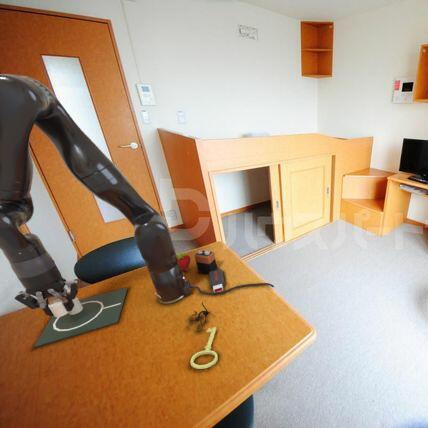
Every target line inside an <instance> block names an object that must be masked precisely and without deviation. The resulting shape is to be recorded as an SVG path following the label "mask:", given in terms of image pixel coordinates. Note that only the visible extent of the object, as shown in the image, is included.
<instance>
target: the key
mask: <svg viewBox="0 0 428 428" xmlns="http://www.w3.org/2000/svg"><path fill="white" fill-rule="evenodd" d="M216 331H217V327H216V326H214V327H212V328H207V330H206V333H209V334H210V335H209V336H208V340H207V343H206V345H205V346H204V350H200V351H198V352H195V353H194V354H193V355H192V357H191V358H190V361H189V362H190V366H191V368H193V369H196V370H203V369H208V368H210V367H211V368H212V367H213V366H214V365H216V363H218V361H219V359H218V358H219V356H218V353H217V352H216V351H214V350H212V344H213V341H214V337H215V334H216ZM205 355H211V356H214V358H213V360H211V361H210V362H208V363H206V364H197V363H195V360H196V359H197V358H198V357H200V356H205Z"/></svg>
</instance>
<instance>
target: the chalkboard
mask: <svg viewBox="0 0 428 428" xmlns="http://www.w3.org/2000/svg"><path fill="white" fill-rule="evenodd" d="M128 290H129V288H128V287H123V288H120V289H116V290H111V291H109V292H103V293H101V294H97V295H92V296H88V297H85V298H80V299H78V300H79V301H80V303H81V305H82V307H83V309H82V311H80V312H79V313H77V314H74V315H70V314H69V313H67V314H66V315H64V316H61V317H55V316H51V318H50V319H49V321H48V323H47V324H46V326H45V327H44V329H43V331H42V332H41V334H40V336H39V337H38V339H37V341H36V342H35V344H34V345H33V348H34V349H36V348H40V347H43V346H46V345H49V344H53V343H57V342H60V341H62V340H67V339H70V338H73V337H76V336H79V335H82V334H86V333H89V332H92V331H95V330H99V329H102V328H105V327H108V326H112V325H115V324H118V323H119V320H120V317H121V314H122V311H123V307H124V304H125V301H126V296H127V294H128Z"/></svg>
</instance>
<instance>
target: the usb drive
mask: <svg viewBox="0 0 428 428" xmlns="http://www.w3.org/2000/svg"><path fill="white" fill-rule="evenodd" d="M208 277H209V286H210V289H211V291H213V293H214V292H221V291H224V287H225V286H226V283H225V278H224V272H223V269H222V268H217V269H216V270H214V271H210V272H209V274H208Z"/></svg>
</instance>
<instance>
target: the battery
mask: <svg viewBox="0 0 428 428" xmlns="http://www.w3.org/2000/svg"><path fill="white" fill-rule="evenodd" d="M194 260H195V264H196V269H197V272H198V273H201V274H207V275H209V272H210V271H214V270H218V265H217V259H216V256H215V252H214V251H210V250H204V249H199V250H198V251H197V252H196V253H195V254H194Z"/></svg>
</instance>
